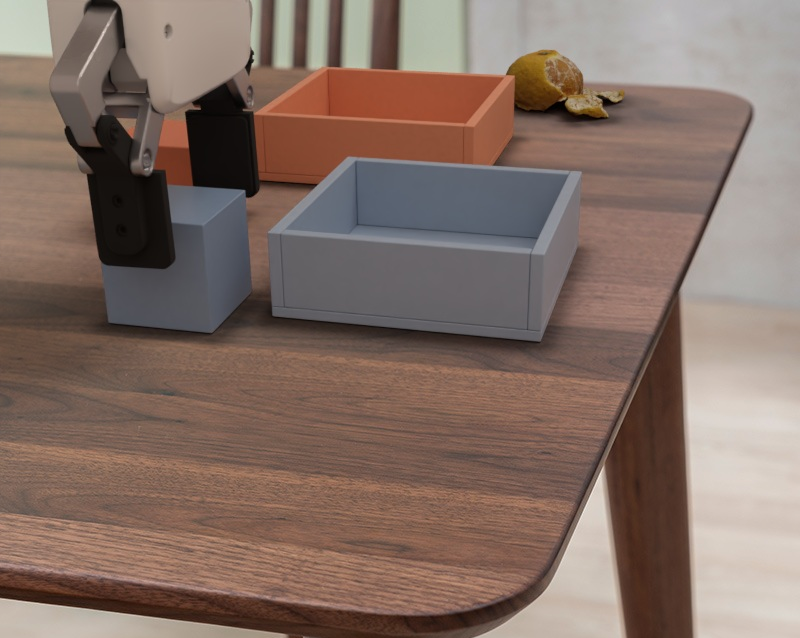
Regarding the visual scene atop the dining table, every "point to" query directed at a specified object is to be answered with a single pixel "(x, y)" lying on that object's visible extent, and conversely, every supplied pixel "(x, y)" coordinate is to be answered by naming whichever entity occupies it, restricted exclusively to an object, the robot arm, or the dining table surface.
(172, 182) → the terracotta block
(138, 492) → the dining table surface
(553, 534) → the dining table surface
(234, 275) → the slate block
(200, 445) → the dining table surface
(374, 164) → the slate bin
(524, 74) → the fruit
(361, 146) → the terracotta bin
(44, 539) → the dining table surface
